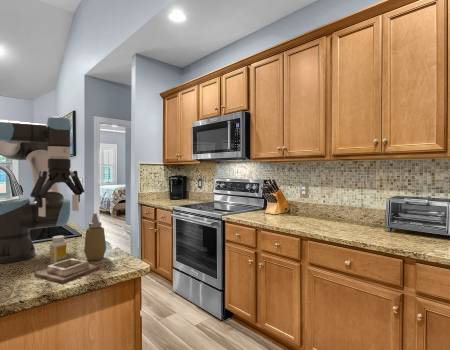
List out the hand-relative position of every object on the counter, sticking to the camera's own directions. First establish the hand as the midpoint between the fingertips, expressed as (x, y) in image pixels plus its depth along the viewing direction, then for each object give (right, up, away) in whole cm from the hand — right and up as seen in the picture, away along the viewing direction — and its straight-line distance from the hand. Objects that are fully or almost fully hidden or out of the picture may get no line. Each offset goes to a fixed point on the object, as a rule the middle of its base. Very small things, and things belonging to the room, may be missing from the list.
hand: (59, 213), depth 108 cm
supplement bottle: (-1, -19, 0) cm, 19 cm away
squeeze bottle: (+12, -19, +3) cm, 23 cm away
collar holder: (+10, -19, -11) cm, 24 cm away
